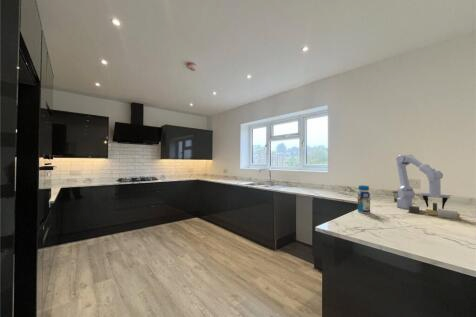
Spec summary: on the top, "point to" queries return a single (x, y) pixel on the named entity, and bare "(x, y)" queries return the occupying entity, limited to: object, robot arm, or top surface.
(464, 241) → the top surface
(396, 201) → the food container
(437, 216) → the base board
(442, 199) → the robot arm
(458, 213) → the inner sliding bolt
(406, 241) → the top surface
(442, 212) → the sleeve
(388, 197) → the top surface
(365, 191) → the beverage bottle
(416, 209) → the socket
